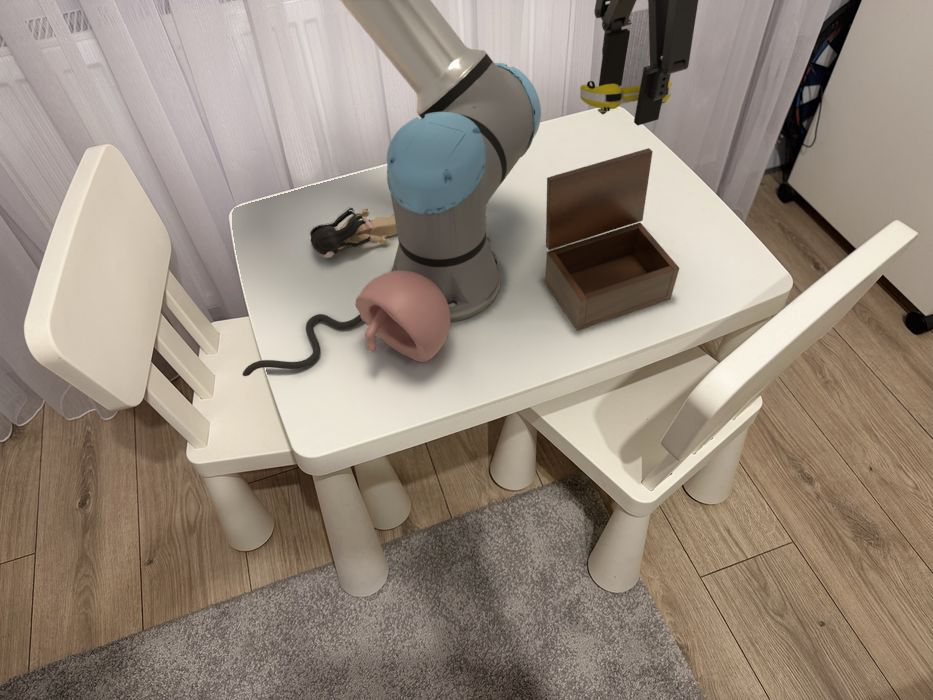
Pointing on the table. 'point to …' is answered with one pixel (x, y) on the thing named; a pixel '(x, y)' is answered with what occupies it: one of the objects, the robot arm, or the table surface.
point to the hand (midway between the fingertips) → (627, 103)
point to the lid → (596, 198)
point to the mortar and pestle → (405, 314)
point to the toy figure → (351, 232)
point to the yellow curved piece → (612, 95)
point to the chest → (610, 275)
